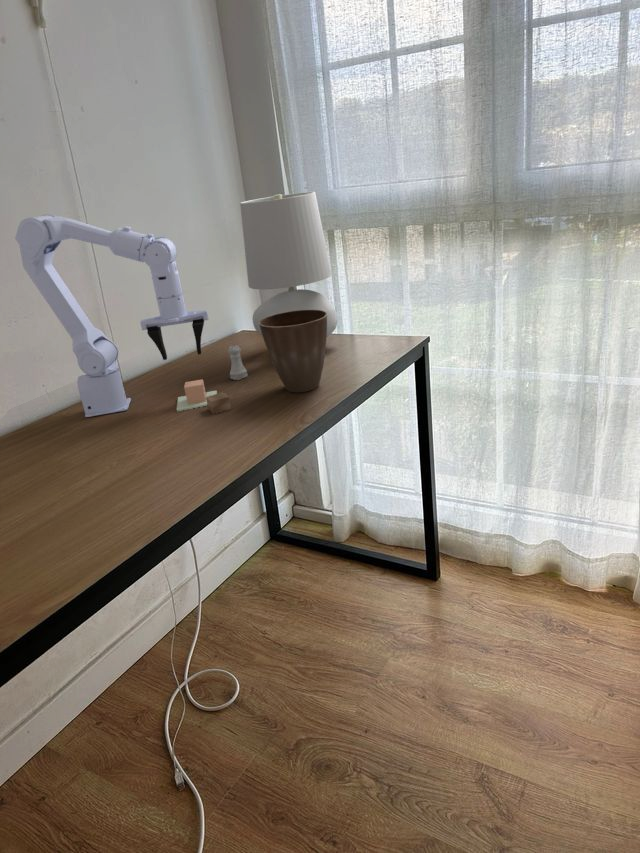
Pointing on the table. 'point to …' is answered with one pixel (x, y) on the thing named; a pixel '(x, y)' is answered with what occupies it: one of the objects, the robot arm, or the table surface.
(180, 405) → the base tile
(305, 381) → the plant pot
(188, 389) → the terracotta brick
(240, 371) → the rook chess piece
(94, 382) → the robot arm
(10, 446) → the table surface
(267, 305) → the table lamp
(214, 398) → the walnut brick
